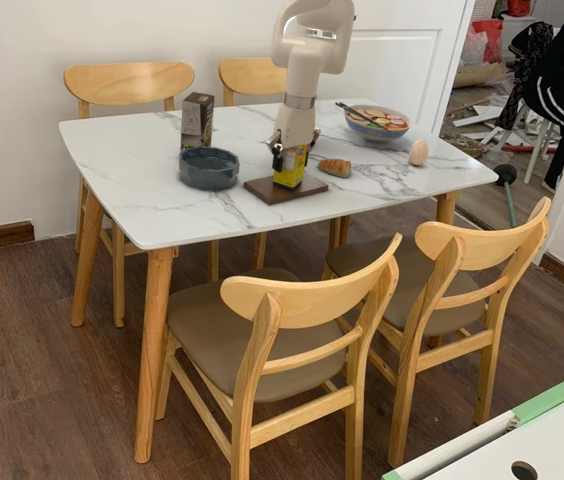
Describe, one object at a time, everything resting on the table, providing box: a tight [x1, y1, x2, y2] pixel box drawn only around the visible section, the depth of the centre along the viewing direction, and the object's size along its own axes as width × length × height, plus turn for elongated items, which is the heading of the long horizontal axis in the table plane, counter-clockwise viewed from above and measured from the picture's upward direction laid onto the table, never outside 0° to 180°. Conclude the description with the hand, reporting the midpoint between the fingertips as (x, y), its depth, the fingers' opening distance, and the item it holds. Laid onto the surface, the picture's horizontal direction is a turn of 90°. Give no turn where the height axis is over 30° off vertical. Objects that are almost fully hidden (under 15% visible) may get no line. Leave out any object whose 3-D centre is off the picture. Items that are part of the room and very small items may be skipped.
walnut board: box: [242, 169, 330, 206], centre depth 158 cm, size 20×11×2 cm, turn 129°
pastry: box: [317, 158, 352, 178], centre depth 171 cm, size 9×7×4 cm
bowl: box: [178, 146, 241, 191], centre depth 156 cm, size 15×15×6 cm
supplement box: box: [273, 143, 308, 190], centre depth 155 cm, size 6×6×11 cm
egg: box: [408, 139, 429, 166], centre depth 182 cm, size 6×6×8 cm
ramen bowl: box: [334, 101, 414, 143], centre depth 197 cm, size 25×23×8 cm
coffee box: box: [179, 91, 216, 159], centre depth 165 cm, size 9×6×16 cm
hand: (289, 167), depth 155 cm, fingers closed on supplement box, 7 cm apart
